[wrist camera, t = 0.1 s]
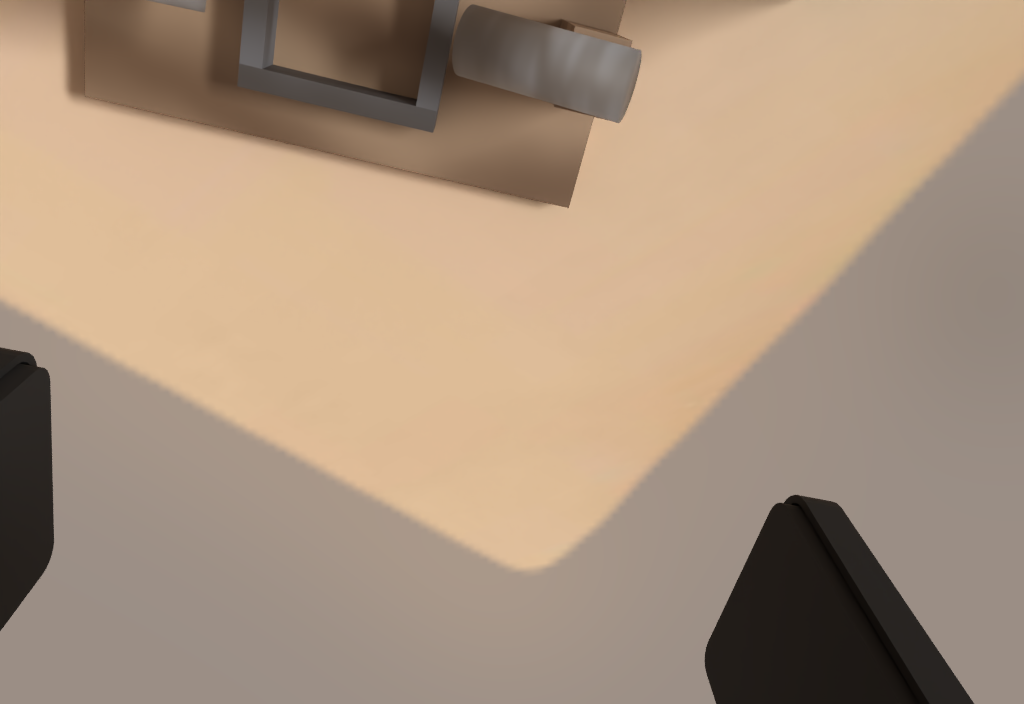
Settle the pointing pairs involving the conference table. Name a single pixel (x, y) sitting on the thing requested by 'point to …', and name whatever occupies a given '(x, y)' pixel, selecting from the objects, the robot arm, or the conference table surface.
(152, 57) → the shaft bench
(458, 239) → the conference table surface
